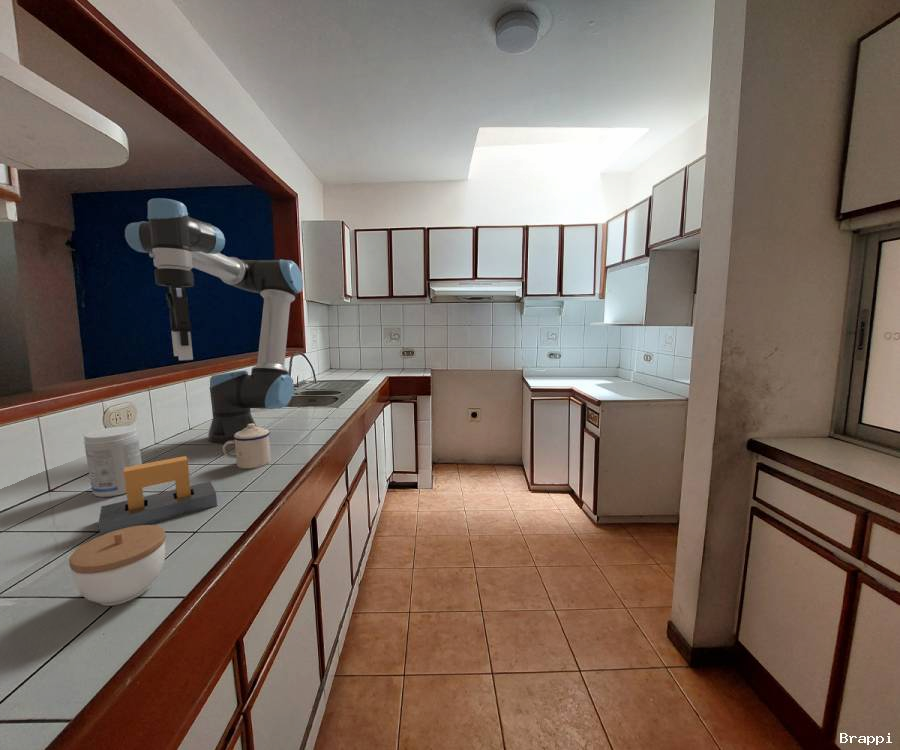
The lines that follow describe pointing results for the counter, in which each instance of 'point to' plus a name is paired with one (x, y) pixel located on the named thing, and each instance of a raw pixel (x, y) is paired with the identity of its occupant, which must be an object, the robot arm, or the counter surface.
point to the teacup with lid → (250, 447)
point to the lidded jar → (119, 564)
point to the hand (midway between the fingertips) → (183, 357)
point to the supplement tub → (111, 458)
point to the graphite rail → (156, 508)
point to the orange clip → (156, 478)
